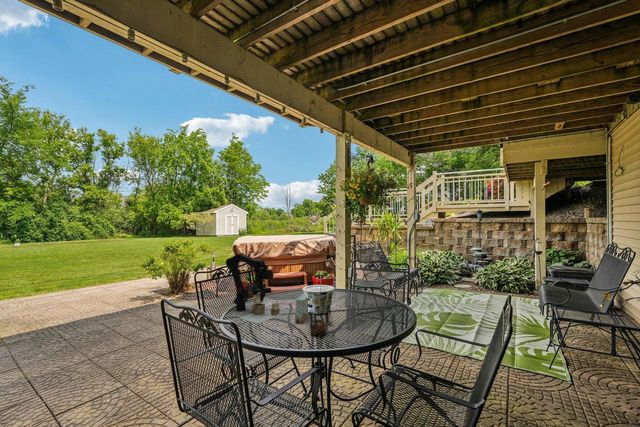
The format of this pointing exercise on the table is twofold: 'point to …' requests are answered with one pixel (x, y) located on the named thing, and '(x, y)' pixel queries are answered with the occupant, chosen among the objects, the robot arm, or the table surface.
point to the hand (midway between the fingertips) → (258, 301)
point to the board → (258, 317)
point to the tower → (275, 309)
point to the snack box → (301, 309)
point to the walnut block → (258, 309)
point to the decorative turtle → (318, 327)
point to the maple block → (257, 299)
